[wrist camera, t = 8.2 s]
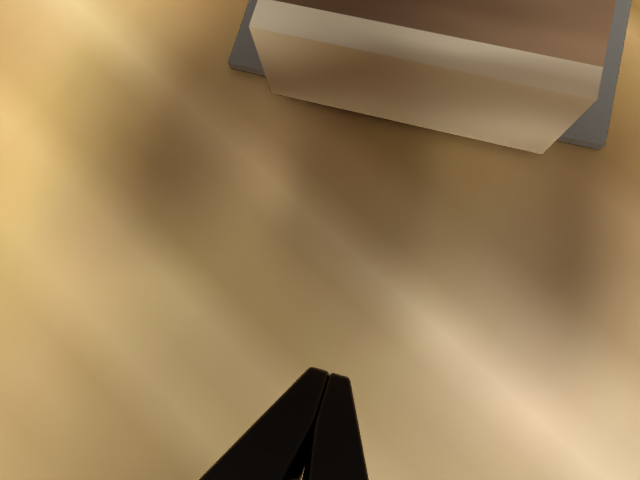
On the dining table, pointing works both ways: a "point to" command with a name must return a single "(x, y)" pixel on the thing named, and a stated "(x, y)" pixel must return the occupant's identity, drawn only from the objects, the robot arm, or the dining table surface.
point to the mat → (582, 132)
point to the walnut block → (442, 61)
